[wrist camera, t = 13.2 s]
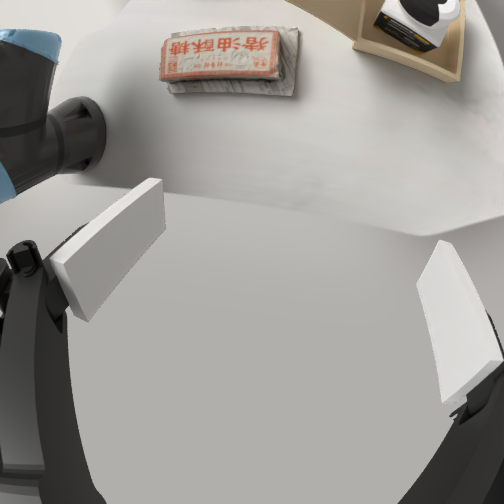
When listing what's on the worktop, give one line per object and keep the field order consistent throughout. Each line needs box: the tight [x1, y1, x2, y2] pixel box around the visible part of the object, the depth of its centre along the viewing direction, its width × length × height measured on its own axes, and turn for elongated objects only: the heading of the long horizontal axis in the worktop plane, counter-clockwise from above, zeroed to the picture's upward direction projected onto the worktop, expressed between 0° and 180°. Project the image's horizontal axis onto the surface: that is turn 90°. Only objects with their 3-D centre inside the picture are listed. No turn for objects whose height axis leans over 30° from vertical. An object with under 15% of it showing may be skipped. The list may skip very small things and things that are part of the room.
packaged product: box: [159, 26, 298, 96], centre depth 28 cm, size 18×5×10 cm
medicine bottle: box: [373, 0, 461, 55], centre depth 15 cm, size 7×7×12 cm
